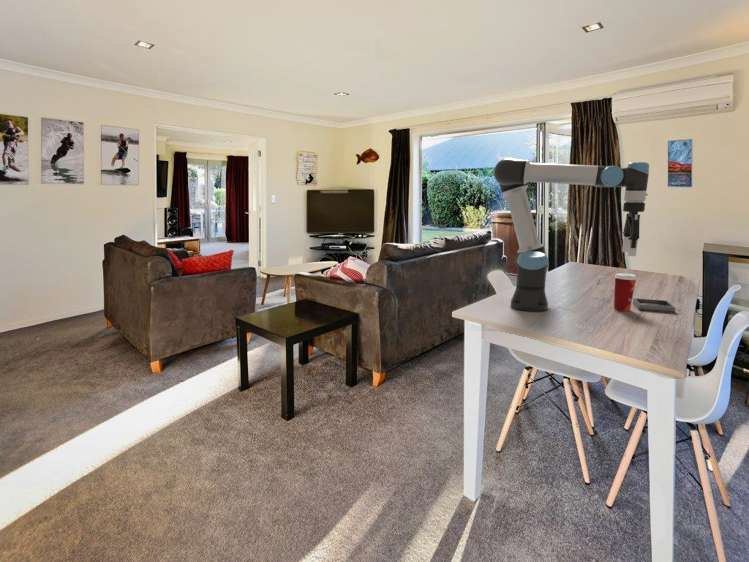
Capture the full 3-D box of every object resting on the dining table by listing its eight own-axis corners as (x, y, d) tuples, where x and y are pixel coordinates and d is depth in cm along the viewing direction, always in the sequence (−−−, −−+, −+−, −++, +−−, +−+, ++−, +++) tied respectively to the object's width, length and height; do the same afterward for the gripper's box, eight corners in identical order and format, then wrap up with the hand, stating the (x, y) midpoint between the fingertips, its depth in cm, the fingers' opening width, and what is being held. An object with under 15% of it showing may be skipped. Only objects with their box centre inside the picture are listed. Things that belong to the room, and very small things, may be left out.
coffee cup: (636, 312, 182) (640, 276, 180) (614, 311, 184) (618, 275, 181) (628, 307, 190) (632, 273, 188) (608, 306, 192) (611, 272, 189)
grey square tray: (638, 310, 186) (639, 304, 186) (632, 303, 198) (633, 298, 198) (674, 312, 182) (675, 307, 182) (666, 305, 194) (667, 300, 194)
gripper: (652, 202, 166) (645, 258, 170) (638, 201, 189) (633, 251, 193) (629, 202, 168) (623, 257, 172) (619, 201, 191) (613, 250, 195)
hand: (628, 254), depth 183 cm, fingers open, 13 cm apart
